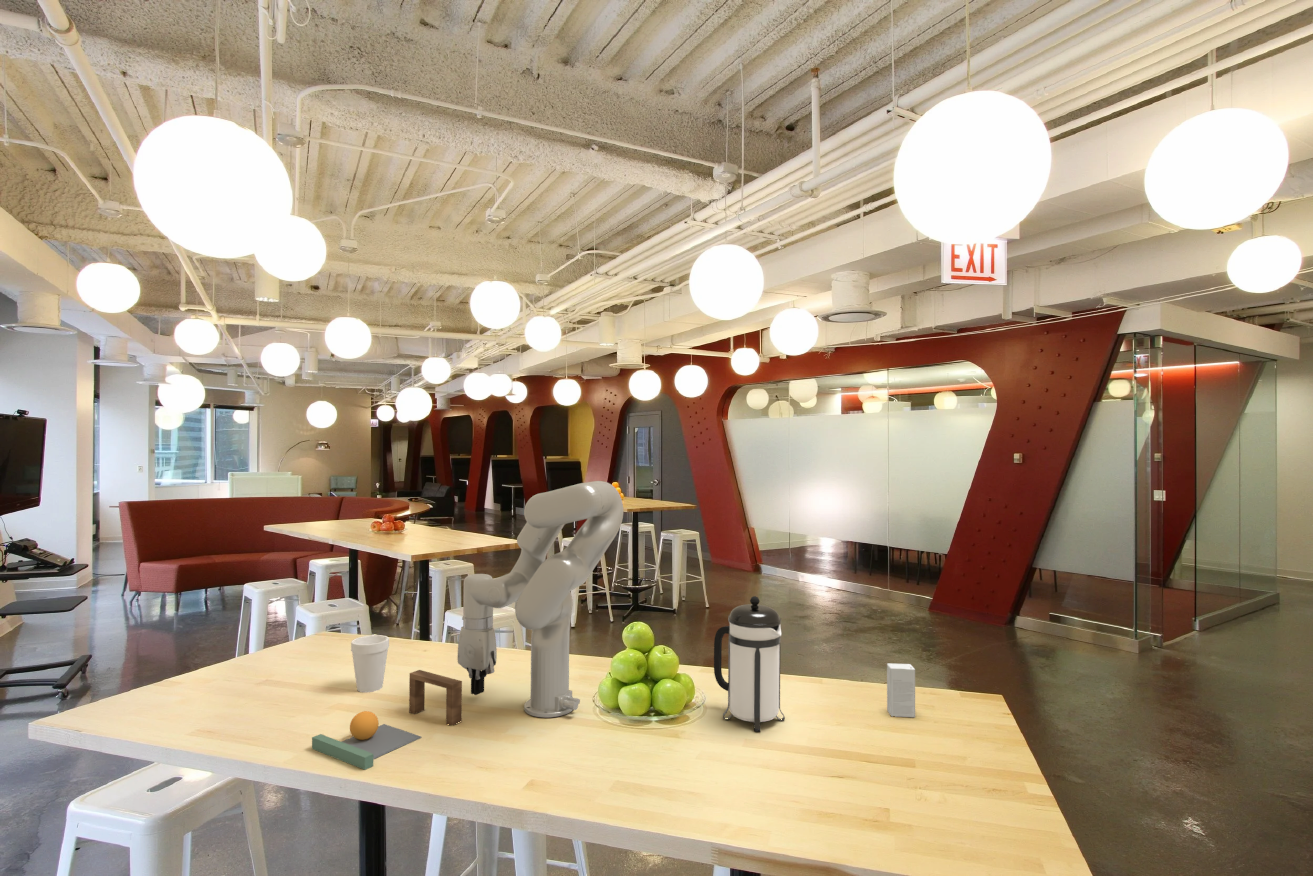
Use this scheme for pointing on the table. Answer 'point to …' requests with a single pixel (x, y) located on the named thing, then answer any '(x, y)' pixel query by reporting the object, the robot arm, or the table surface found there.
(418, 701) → the bridge
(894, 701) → the skincare box
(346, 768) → the table surface
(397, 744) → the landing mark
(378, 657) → the foam cup
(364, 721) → the ball
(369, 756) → the stopper wall
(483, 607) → the robot arm
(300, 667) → the table surface
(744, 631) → the coffee press
